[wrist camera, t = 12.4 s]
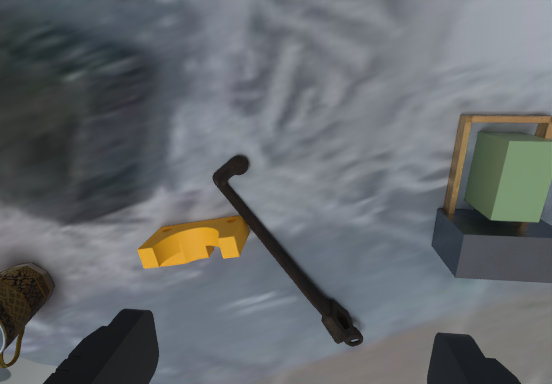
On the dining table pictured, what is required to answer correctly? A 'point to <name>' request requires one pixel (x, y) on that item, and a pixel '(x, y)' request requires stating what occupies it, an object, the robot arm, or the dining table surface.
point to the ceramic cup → (20, 302)
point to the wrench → (288, 260)
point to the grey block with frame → (491, 225)
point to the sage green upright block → (510, 176)
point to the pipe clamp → (194, 241)
